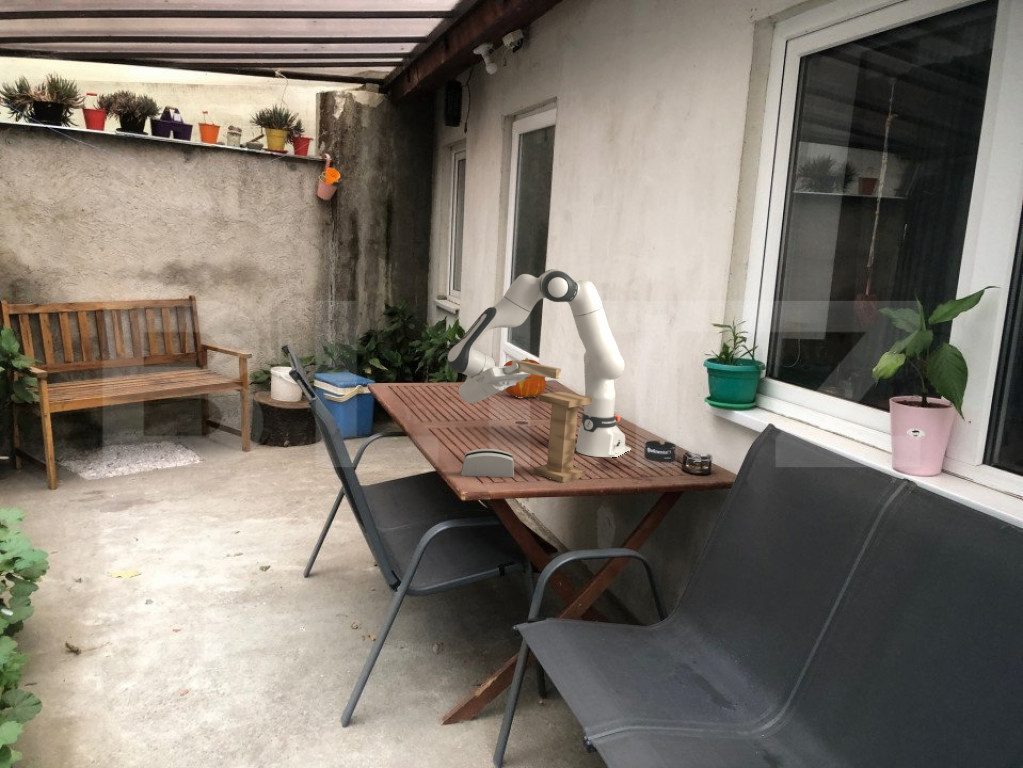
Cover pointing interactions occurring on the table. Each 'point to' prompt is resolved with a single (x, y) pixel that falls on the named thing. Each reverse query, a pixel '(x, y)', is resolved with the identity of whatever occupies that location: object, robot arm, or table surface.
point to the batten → (538, 369)
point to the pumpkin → (528, 384)
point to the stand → (562, 436)
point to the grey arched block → (488, 463)
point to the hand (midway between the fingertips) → (522, 365)
